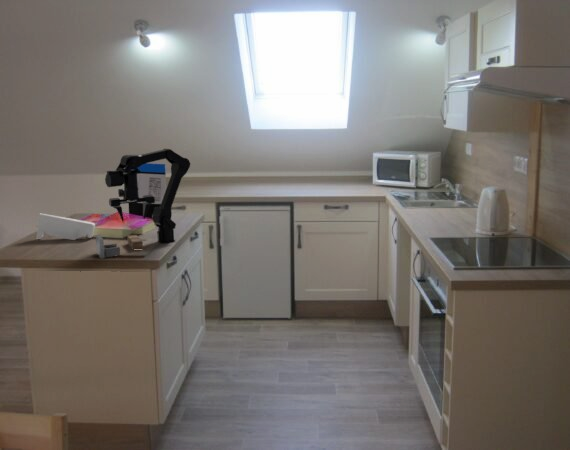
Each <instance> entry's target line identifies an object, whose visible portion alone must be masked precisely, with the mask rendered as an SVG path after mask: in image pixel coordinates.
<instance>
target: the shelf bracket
mask: <svg viewBox="0 0 570 450" xmlns="http://www.w3.org/2000/svg"><path fill="white" fill-rule="evenodd" d="M36 228H37V231H36V239H39V240H40V239H42V238H43V237H44V234H46V235H47V236H51V237H57V238H59V239H60V238H61V239H66V240H74V241H75V240H77V239H80V238H83V237H84V238H89V239H90V238H91V239H92V236H94V231H95V223H92V222H87V221H82V220H80V219H75V218H70V217H64V216H59V215H53V214H48V213H47V214H46V213H41V212H40V213H39V214H38V218H37V224H36ZM36 239H35V240H36Z"/></svg>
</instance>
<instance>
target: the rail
mask: <svg viewBox="0 0 570 450" xmlns="http://www.w3.org/2000/svg"><path fill="white" fill-rule="evenodd" d="M126 237H127V244H128V243H129V245H130V246H131V247H132V248H133V250H134V249H143V250H144V247H143V239H141V238H140V237H139V236H138V234H130V235H128V236H126ZM129 245H128V246H129ZM130 246H129V247H130ZM131 247H130V248H131ZM132 248H131V249H132ZM133 250H132V251H133Z"/></svg>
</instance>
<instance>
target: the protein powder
mask: <svg viewBox="0 0 570 450" xmlns="http://www.w3.org/2000/svg"><path fill="white" fill-rule="evenodd" d="M138 169H139V170H140V171H141V172H142V173H140V174H137V181H138V196H139V198H143V196H144V195H152V196H153V197H154V198H155V203H152V205H150V207H149V209H148V211H147V214H146V217H147V219H150V218H151V219H152V217H153V215H152V214H153V212H154V208H155V207H159V206H160V205H161V203H162V200H163V197H164V194H165V191H166V189H167V178H166V174H167V173H166V164H165V163H151V162H149V163H145V164H143V165H142V166H140V167H138ZM132 170H134V169H132ZM127 201H129V200H127ZM135 201H137V200H135ZM128 214H133V215H135V217H136V215H138V216H142V217H143V202H136V203H128ZM129 216H130V215H129ZM131 216H132V215H131ZM138 216H137V217H138ZM142 217H141V219H142ZM129 218H130V217H129ZM131 218H132V217H131ZM133 219H134V218H133ZM137 219H138V218H137ZM139 219H140V218H139Z"/></svg>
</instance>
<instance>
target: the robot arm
mask: <svg viewBox="0 0 570 450" xmlns="http://www.w3.org/2000/svg"><path fill="white" fill-rule="evenodd" d="M165 159H166V161H167V162H168V163H169V164H171V166H170V173H171V175H170V178H169V181H168V184H167V185H166V191H165V194H164V197H163V200H162V203H161V205H160V206H159V207H155V208H154V212H153V214H152V215H153V217H152V220H153V222H154V223H155V227H157V237H156V238H157V241H158V242H159V241H160V242H159V243H160V244H164V243H165V244H166V243H174V242H176V239H175V235H174V234H175V232H174V229H176V226H177V224H176V222H175V221H174V220H172V214H173V213H172V207H173V204H174V201H175V198H176V195H177V192H178V190H179V187H180V185H181V182H182V178H183V177H184V176H185V175H186V174H187V172H188V171H189V169H190V167H191V162H190V160H189V159H188V158H186V157H183V156H181V155H179V154H178V153H176V152H175V151H173V150H172V148H171V149H170V148H163V149H160V150H155V151H151V152H147V153H142V154H124V155H122V157H121V158H120V162H119V164H118V165H117V167H116V169H115V170H107V171H106V174H105V178H104V181H105V182H104V183H105V185H106V187H107V188H115V187H122V186H123V188H119V189H118V190H117V192H118V197H112V198H109V199H108V205H109V206H110V207H111V208H114V209H115V210H117V212H118V213H119V215H120V218H121V220H122V222H123V213H122V212H123V208H122V206H121V205H122V204H124V205H125V204H129V203H136V202H143V219H145V217H146V214H147V211H148V209H149V207H150V205H152V203H155V198H154V197H153V196H152V195H144V196H143V198H139V196H138V181H137V174H140V173H142V172H141V171H140V170H139V169H138V167H140V166H142V165H143V164H145V163H153V162H156V161H162V160H165ZM132 169H134V170H132ZM121 198H122V199H121ZM128 200H129V201H128ZM135 200H137V201H135ZM119 215H118V216H119Z"/></svg>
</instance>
